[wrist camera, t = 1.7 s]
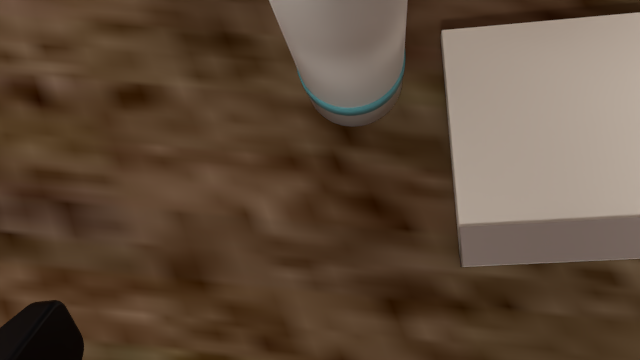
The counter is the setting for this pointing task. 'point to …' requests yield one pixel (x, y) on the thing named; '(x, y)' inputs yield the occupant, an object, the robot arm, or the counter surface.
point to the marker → (347, 54)
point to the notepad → (545, 139)
